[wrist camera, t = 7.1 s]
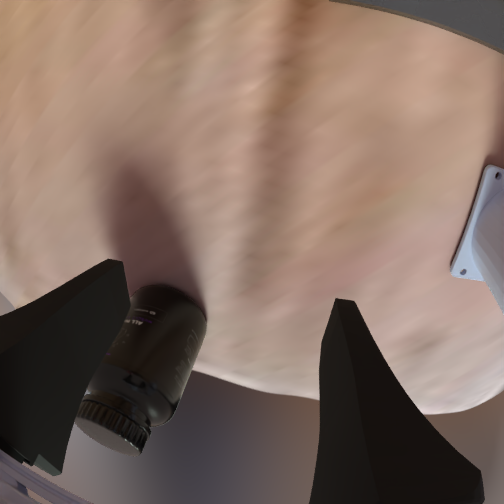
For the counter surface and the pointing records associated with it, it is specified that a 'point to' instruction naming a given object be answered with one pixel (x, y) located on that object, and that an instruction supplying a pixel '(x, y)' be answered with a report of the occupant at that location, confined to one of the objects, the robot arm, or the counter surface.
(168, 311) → the supplement bottle
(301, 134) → the counter surface
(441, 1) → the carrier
